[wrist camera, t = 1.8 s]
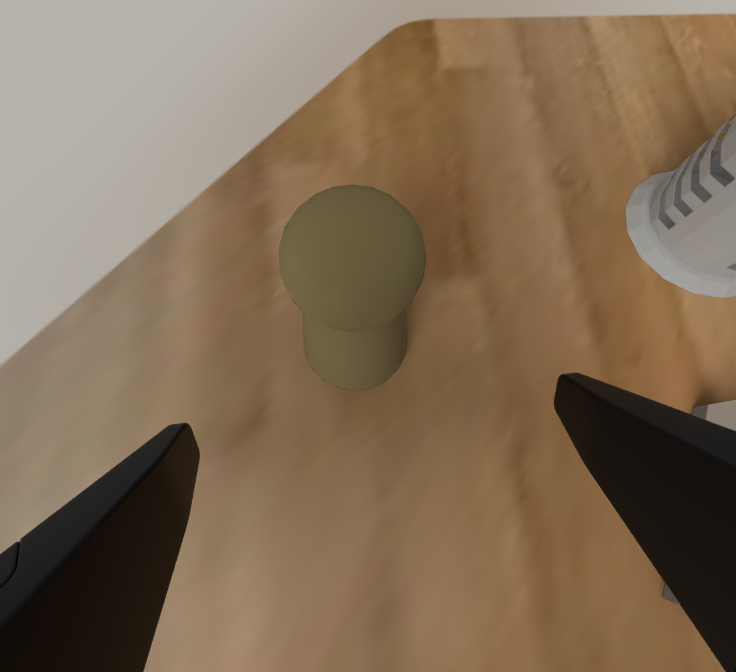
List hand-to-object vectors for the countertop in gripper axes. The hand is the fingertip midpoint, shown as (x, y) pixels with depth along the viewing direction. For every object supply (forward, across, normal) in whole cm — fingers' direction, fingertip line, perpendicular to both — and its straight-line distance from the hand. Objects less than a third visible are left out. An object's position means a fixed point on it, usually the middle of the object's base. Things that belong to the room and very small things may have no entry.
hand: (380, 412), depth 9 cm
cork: (+13, 0, +5) cm, 14 cm away
